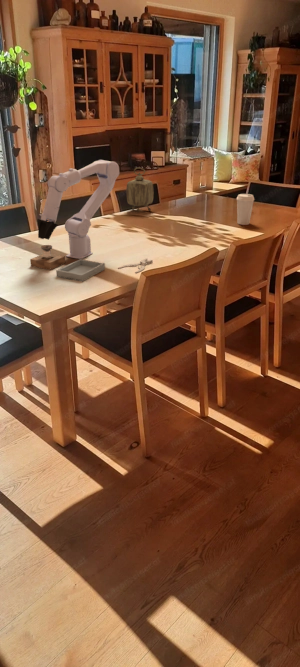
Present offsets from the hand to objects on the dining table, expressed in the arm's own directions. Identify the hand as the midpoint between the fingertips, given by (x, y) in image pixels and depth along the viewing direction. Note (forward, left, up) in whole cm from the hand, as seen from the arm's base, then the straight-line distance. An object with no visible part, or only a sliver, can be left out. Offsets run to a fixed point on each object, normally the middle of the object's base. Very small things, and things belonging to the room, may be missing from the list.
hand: (43, 238), depth 204 cm
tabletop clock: (-106, -14, -11) cm, 108 cm away
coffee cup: (-106, +51, -11) cm, 118 cm away
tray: (+3, +20, -11) cm, 23 cm away
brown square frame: (+1, +2, -11) cm, 11 cm away
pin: (+1, +2, -11) cm, 11 cm away
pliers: (-15, +36, -11) cm, 40 cm away
